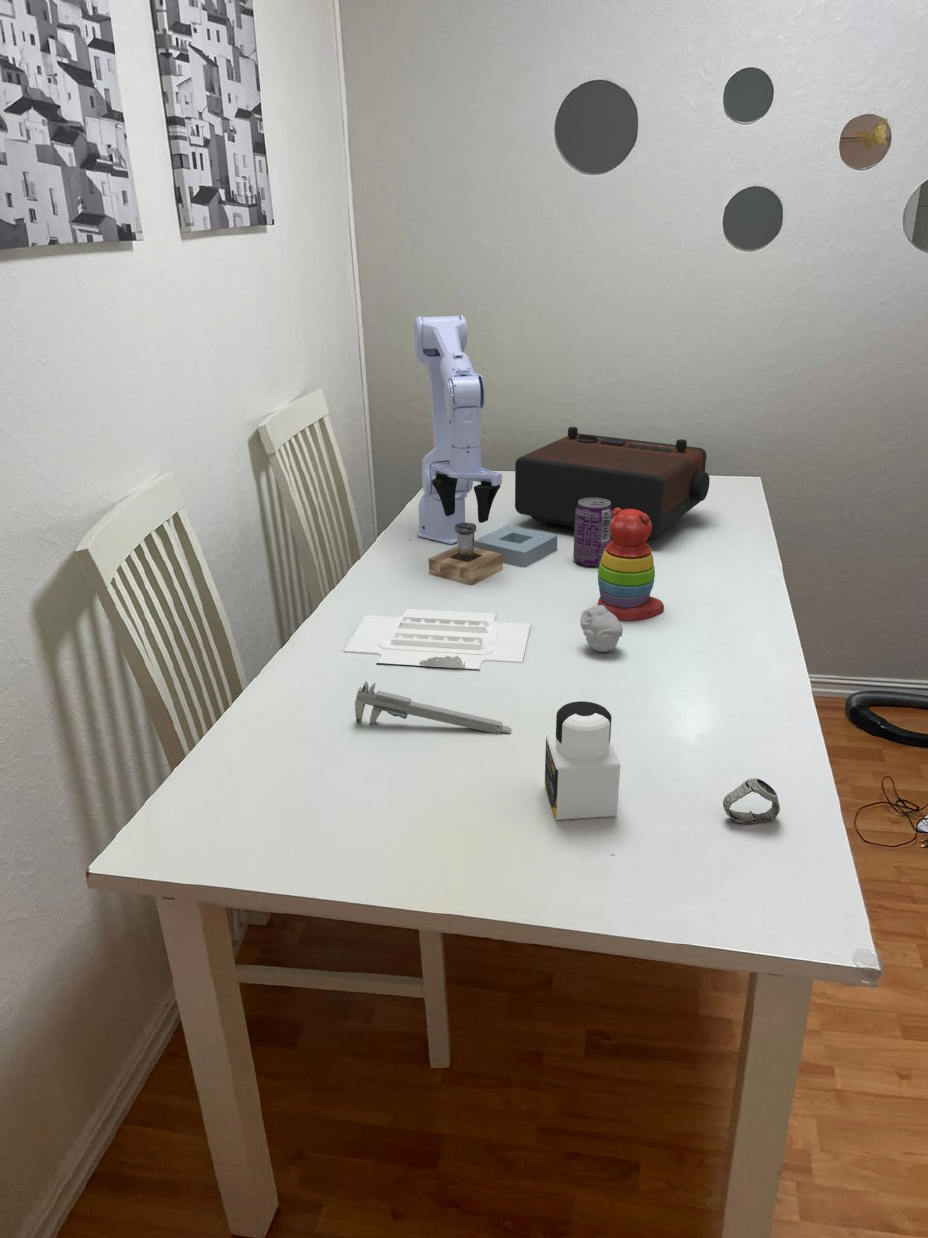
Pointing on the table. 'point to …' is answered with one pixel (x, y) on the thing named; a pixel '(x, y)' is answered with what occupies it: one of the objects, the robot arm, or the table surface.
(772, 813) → the wristwatch
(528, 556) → the dock
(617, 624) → the frog figurine
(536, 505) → the radio receiver
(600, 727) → the medicine bottle
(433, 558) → the mount
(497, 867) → the table surface
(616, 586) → the stacking bear
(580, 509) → the beverage can
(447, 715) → the caliper
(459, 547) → the pin
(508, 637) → the tray
